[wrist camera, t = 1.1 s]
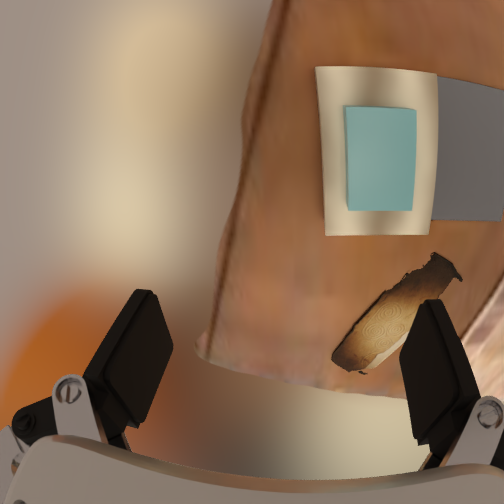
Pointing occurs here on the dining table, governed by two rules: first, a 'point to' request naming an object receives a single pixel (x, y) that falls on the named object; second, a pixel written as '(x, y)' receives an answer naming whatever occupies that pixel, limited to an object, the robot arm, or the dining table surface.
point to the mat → (469, 152)
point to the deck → (333, 144)
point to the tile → (380, 157)
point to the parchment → (393, 316)
